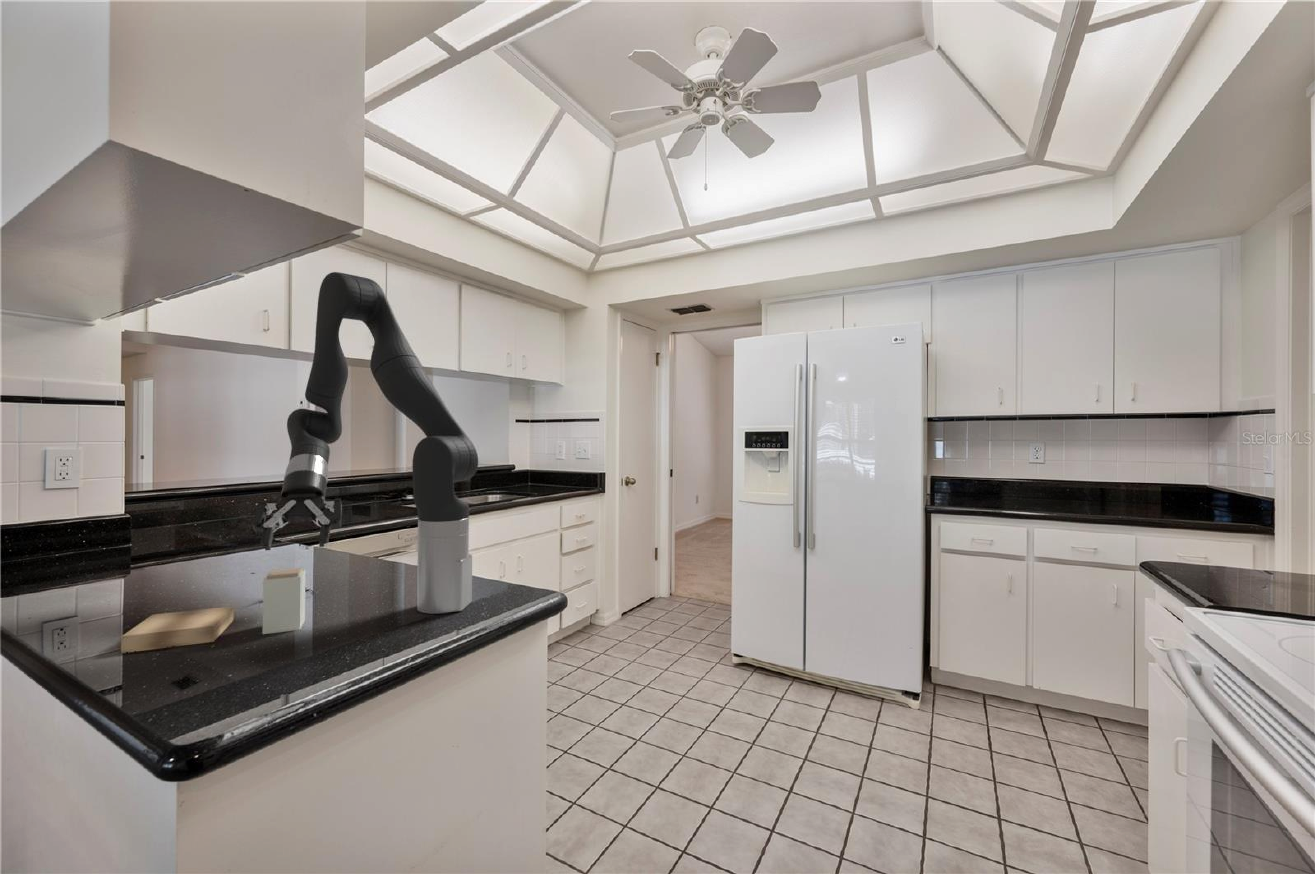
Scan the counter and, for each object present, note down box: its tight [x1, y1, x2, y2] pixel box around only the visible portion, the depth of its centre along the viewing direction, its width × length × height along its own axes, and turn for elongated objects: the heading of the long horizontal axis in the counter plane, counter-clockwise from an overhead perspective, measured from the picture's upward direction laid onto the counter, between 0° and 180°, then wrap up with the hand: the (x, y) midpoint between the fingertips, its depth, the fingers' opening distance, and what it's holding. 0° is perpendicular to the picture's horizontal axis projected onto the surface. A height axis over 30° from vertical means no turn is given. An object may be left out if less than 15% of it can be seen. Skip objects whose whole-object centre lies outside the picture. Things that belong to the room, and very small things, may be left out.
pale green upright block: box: [262, 567, 307, 635], centre depth 91 cm, size 5×5×10 cm
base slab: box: [120, 605, 235, 654], centre depth 87 cm, size 11×11×3 cm
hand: (294, 546), depth 99 cm, fingers open, 8 cm apart
